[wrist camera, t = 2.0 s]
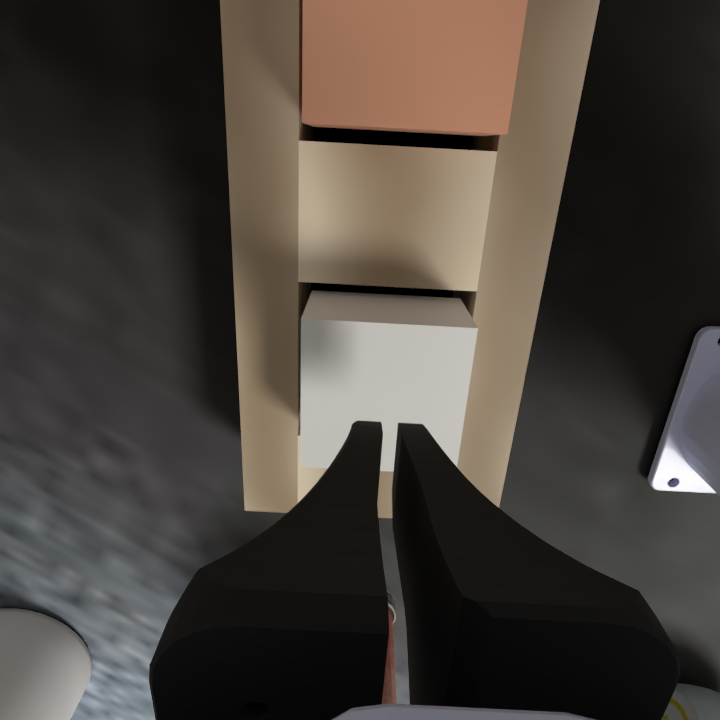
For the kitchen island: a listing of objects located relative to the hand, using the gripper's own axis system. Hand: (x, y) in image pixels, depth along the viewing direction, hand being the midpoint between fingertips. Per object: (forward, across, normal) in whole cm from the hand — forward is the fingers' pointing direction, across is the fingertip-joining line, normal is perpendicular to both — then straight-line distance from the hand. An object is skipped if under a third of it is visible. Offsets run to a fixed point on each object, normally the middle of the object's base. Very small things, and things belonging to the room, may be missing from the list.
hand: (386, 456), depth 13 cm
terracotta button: (+6, 0, -10) cm, 12 cm away
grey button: (+6, 0, 0) cm, 6 cm away
